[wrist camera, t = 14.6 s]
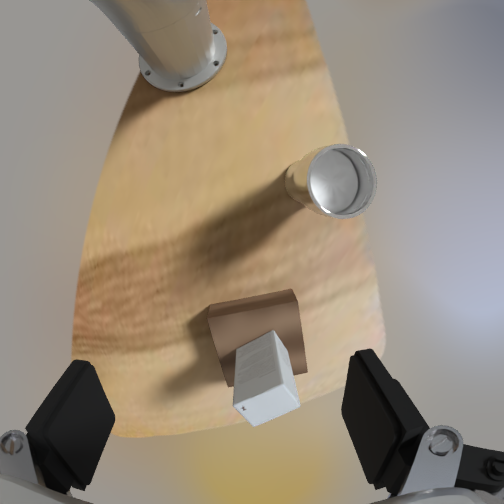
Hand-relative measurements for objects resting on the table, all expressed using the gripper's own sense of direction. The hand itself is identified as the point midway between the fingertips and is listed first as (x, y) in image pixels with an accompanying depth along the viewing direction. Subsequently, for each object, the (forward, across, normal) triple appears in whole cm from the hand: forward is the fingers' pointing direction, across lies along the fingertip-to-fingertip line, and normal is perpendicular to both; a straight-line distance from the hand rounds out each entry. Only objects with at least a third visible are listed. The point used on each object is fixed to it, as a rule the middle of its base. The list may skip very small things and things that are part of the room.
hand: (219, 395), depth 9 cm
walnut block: (+31, -3, +16) cm, 35 cm away
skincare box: (+26, -3, +16) cm, 31 cm away
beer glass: (+32, -10, -6) cm, 34 cm away
